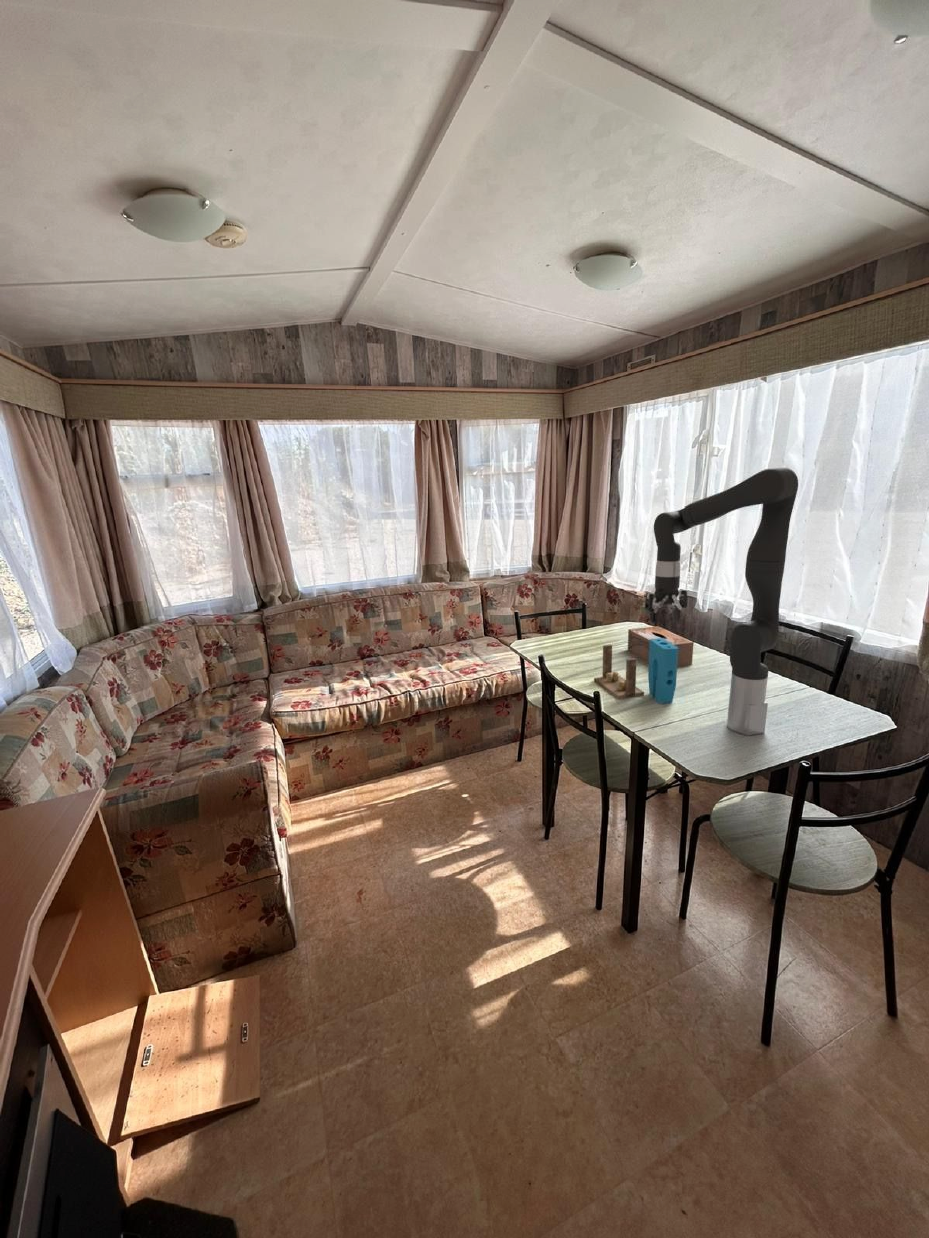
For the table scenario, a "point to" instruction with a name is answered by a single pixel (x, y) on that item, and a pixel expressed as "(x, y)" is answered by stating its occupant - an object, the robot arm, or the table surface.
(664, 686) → the block
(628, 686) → the peg stand
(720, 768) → the table surface
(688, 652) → the tissue box cover
